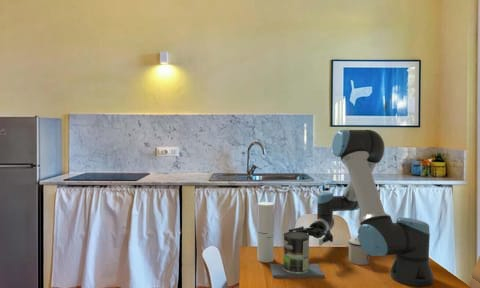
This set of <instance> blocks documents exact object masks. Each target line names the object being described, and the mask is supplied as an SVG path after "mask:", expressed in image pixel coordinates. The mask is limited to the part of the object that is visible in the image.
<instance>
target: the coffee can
mask: <svg viewBox="0 0 480 288" xmlns="http://www.w3.org/2000/svg"><path fill="white" fill-rule="evenodd" d="M309 244H310V236H309V235H308V233H307V234H306V233H303V232H289V231H287V232H285V233H283V264H284V265H283V269H284V270H285V271H286V272H289V273H293V274H303V273H306V272H308V264H309V259H310V258H309V256H310V254H309V251H310V250H309V249H310V248H309V247H310V245H309Z"/></svg>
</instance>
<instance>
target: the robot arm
mask: <svg viewBox="0 0 480 288" xmlns="http://www.w3.org/2000/svg"><path fill="white" fill-rule="evenodd" d="M331 148H332V149H331V151H332V154H333V156H335V157H337V158H340V161H341V163H342V164H343V165H345V166H346V167H347V171H348V174H349V178H350V179H349V182H348V183H347V186H346V188H345V189H344V192H343V195H334V194H333V193H332V192H328V191H327V192H326V191H321V192H319V193H317V199H316V200H317V201H316V205H317V206H316V207H317V209H316V210H317V212H316V213H317V214H316V220H314V222H312V223H311V224H310V225H309V226H308V227H304V226H299V227H294V228H290V229H288V232H303V233H306V234H308V235H309V237H310V236H311V237H314V238H315V239H318V246H320V247H322V245H323V244H324V243H328V242H330V243H333V242H334V236H333V234H332V232H331V230H332V229H333V227H334V226H335V219H334V217H333V213H334V212H349V211H350V212H351V211H357V210H359V211H360V214H361V217H362V218H361V221H360V223H359V224H360V225H359V227H358V229H357V235H358V240H359V243H360V245H361V247H362V249H363V250H364V251H365V252H366V253H368V254H369V256H371V257H372V256H373V257H376V256H377V257H384V256H392V255H393V256H394V255H395V258H394V260H393V264H391V265H392V266H391V268H390V277H391V278H392V279H393V280H394V281H395V282H398V283H401V284H404V285H406V286H407V285H408V286H413V287H429V286H432V285H434V273H433V270H432V268H431V264H430V241H431V240H430V236H431V233H430V225H429V224H428V223H427V222H426V221H422V220H419V219H415V218H409V217H404V216H403V217H401V216H400V217H397V218H396V220H395V222H393V220H392V217H391V215H390V214H388V213H387V212H385V209H384V205H383V203H382V200H381V198H380V195H379V194H380V193H379V192H378V188H377V186H376V182H375V179H374V176H373V174H372V173H373V171H374V170H375V167H376V166H377V164H379V163H380V162H381V161H382V158H383V157H384V154H385V143H384V139H383V138H382V136H381V134H379V133H378V132H377V131H375V130H372V129H348V128H347V129H340V130H338V131H336V133H335V134H334V135H333V138H332V143H331Z"/></svg>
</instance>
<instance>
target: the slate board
mask: <svg viewBox="0 0 480 288" xmlns="http://www.w3.org/2000/svg"><path fill="white" fill-rule="evenodd" d="M283 265H284V263H270V264H269V267H270V271H271V275H272V277H273V279H277V278H279V279H280V278H281V279H283V278H289V279H290V278H291V279H292V278H294V279H295V278H296V279H297V278H299V279H300V278H302V279H305V278H308V279H309V278H310V279H313V278H316V279H317V278H321V279H322V278H324V279H325V274H324V272H323V270H322V269H321V267H320V266H319V264H318V263H308V272H306V273H303V274H293V273H289V272H286V271H285V270H284V269H283Z"/></svg>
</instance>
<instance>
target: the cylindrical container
mask: <svg viewBox="0 0 480 288" xmlns="http://www.w3.org/2000/svg"><path fill="white" fill-rule="evenodd" d="M274 230H275V203H274V202H269V201H260V202H258V203H257V243H256V244H257V245H256V246H257V253H256V256H257V259H256V260H257V261H258V262H260V263H270V262H273V261H274V252H275V251H274V249H275V248H274V242H275V241H274V240H275V239H274V237H275V231H274Z"/></svg>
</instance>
